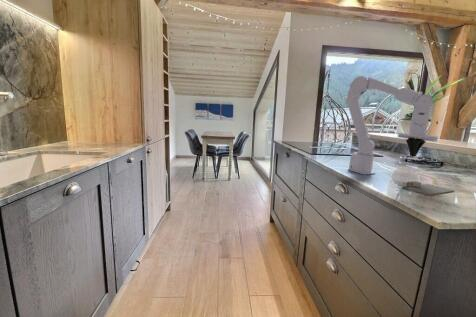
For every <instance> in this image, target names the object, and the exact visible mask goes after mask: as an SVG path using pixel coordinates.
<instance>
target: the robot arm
mask: <svg viewBox="0 0 476 317" xmlns="http://www.w3.org/2000/svg"><path fill="white" fill-rule="evenodd" d="M367 90H368V91H374V90H377V91H379V92H383V93H385V94H389V95H392V96H394V98H395V100H396V101H398V102H401V103H404V104H406V105H408V106H413V107H414V108H413V112H412V115H411V121H410V124H409V131H408V133H405V132H404V133H403V132H398V133H397V138H401V139H406V140H405V141H406V144H407V146H408V151H409V157H417V155H418V153H419V151H420V149H421V148H422V147H423V146H424V144H425V143H426V142H427V141H429V142H438V136H433V135H426V133H427V128H428V124H429V119H430V115H431V114H430V112H431V107H432V106H433V104H434V100H433V97H432V96H431V95H430V94H426V93H425V94H424V93H423V91H417V90H414V89H411V86H407V87H405V86H402V87H396V86H393V85H390V84H388V83H386V82H383V81H381V80H378V79H375V78H372V77H366V76H363V75H359V76H357V77H355V78H354V79H353V80H352V82H351V83H350V84H349V88H348V92H347V95H346V104H347V107H348V110H349V114H350V116H351V120H352V124H353V127H354V129H355V133H356V137H357V141H358V144H357V150H358V151H355V152H353V153H351V155H350V160H349V166H348V168H347V171H350V172H353V173H357V174H360V175H373V174H376V172H374V171H372V169H373V164H374V159H375V158H374V157H375V153H374V152H373V151H374V149H375V147H376V143H375V142H374V140H372V138H371V135H370V133H369V131H368V127H367V125H366V122H365V118H364V115H363V112H362V108H361V105H360V102H359V100H360V98H361V97H362V95H363V94H364V93H366V92H367Z"/></svg>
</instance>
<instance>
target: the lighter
mask: <svg viewBox="0 0 476 317" xmlns="http://www.w3.org/2000/svg"><path fill="white" fill-rule="evenodd" d="M421 184H422V182H420V181H419V180H418V181H417V180H412V179H411V180H409V179H405V180H404V181H402V184H401V186H402V187H407V186H414V187H421Z"/></svg>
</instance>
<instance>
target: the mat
mask: <svg viewBox="0 0 476 317" xmlns="http://www.w3.org/2000/svg"><path fill="white" fill-rule="evenodd" d="M402 188H403V189H405V190H408V191H412V192H416V193H418V194H422V195H425V196H433V195H434V196H436V195H441V194H446V193H453V192H455V190H454V189H450V188H445V187H442V186H438V185H436V184H435V185H434V184H430V183H421V187H414V186H407V187H405V186H402Z"/></svg>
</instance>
